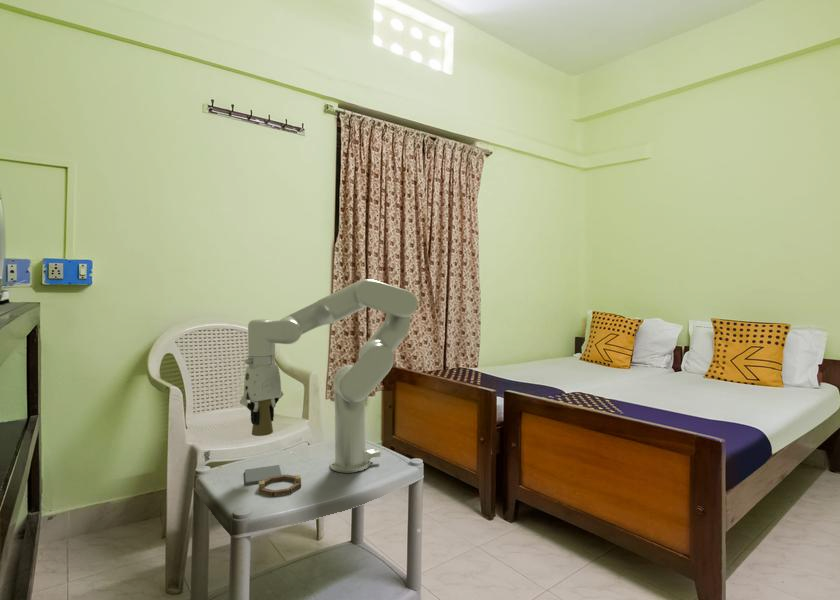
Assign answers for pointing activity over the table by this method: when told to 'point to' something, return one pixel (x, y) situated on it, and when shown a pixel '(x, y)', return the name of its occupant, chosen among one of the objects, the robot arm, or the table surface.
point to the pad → (261, 474)
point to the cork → (263, 419)
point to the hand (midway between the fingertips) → (262, 421)
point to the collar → (282, 491)
